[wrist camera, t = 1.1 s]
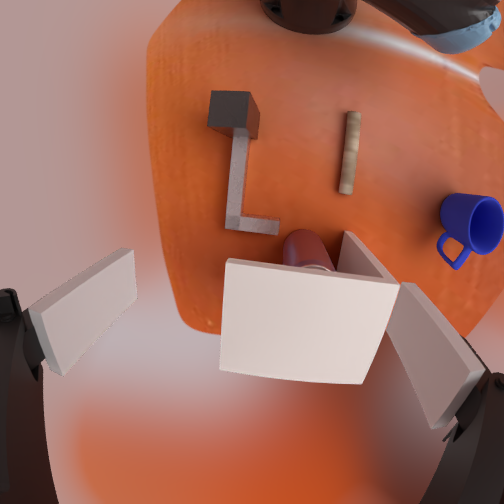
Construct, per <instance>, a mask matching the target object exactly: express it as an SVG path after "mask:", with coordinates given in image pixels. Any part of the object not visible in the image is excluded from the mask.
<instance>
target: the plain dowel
mask: <svg viewBox="0 0 504 504" xmlns="http://www.w3.org/2000/svg"><path fill="white" fill-rule="evenodd" d="M360 125H361V113H359V112H354V111H348V114H347V126H346V136H345V146H344V155H343V163H342V171H341V178H340V186H339V193H342V194H347V195H352V192H353V185H354V178H355V171H356V163H357V154H358V145H359V136H360Z"/></svg>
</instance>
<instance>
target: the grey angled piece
mask: <svg viewBox="0 0 504 504" xmlns="http://www.w3.org/2000/svg"><path fill="white" fill-rule="evenodd" d="M259 120H260V112H259V109H258V107H257V105H256V103H255V101H254V99H253V97H252V95H251V93H250V92H245V91H211V99H210V107H209V115H208V124H207V126H208V127H210V128H212V129H214V130H216V131H218V132H220V133H222V134H224V135H226V136H228V137H232V138H233V145H232V155H231V165H230V175H229V186H228V197H227V209H226V221H225V229H232V230H240V231H248V232H256V233H264V234H271V235H278V232H279V224H280V218H277V217H269V216H261V215H253V214H245V213H243V206H244V196H245V186H246V176H247V167H248V157H249V147H250V139H257V138H258V129H259Z"/></svg>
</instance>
